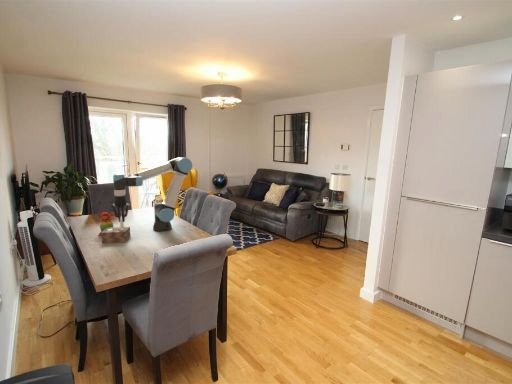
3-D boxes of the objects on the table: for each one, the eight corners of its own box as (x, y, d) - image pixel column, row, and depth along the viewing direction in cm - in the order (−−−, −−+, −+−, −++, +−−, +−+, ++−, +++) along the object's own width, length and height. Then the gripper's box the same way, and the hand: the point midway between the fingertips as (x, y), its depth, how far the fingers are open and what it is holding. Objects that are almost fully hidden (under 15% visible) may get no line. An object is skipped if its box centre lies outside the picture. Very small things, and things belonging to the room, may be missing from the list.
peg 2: (126, 234, 201) (125, 225, 200) (124, 236, 198) (124, 226, 196) (121, 235, 201) (120, 225, 199) (119, 236, 197) (118, 227, 196)
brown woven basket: (130, 236, 206) (129, 226, 205) (125, 242, 194) (124, 231, 193) (108, 237, 203) (107, 227, 202) (102, 243, 192) (101, 232, 190)
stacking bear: (97, 236, 205) (95, 214, 202) (101, 232, 215) (99, 211, 212) (113, 235, 208) (111, 213, 205) (116, 231, 218) (114, 210, 215)
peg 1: (114, 238, 200) (113, 228, 199) (112, 240, 196) (111, 230, 195) (108, 238, 200) (107, 229, 198) (106, 240, 196) (105, 230, 194)
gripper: (131, 194, 199) (132, 224, 203) (112, 194, 196) (114, 224, 200) (128, 195, 191) (129, 227, 195) (108, 196, 189) (110, 227, 193)
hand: (122, 225), depth 198 cm, fingers closed
